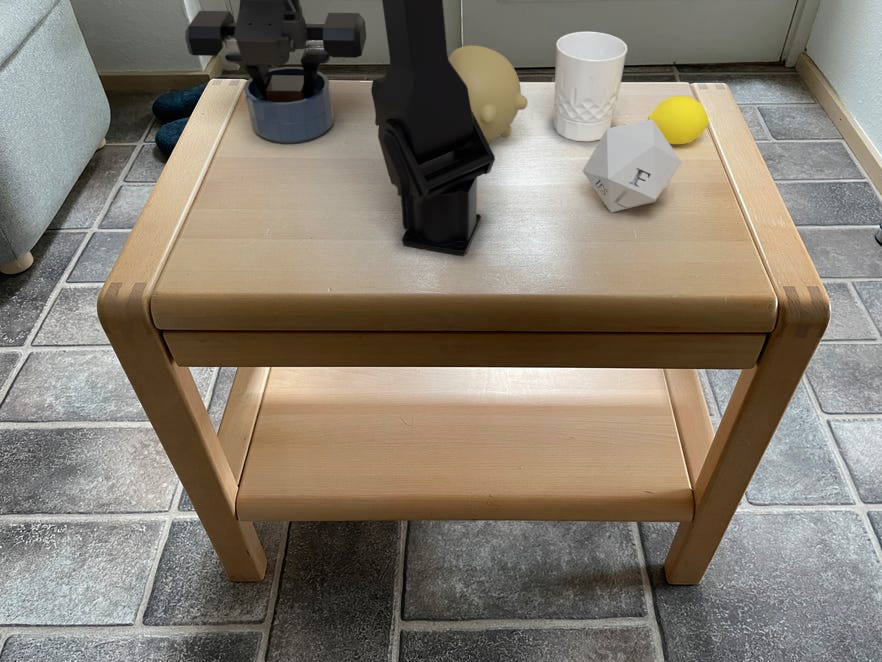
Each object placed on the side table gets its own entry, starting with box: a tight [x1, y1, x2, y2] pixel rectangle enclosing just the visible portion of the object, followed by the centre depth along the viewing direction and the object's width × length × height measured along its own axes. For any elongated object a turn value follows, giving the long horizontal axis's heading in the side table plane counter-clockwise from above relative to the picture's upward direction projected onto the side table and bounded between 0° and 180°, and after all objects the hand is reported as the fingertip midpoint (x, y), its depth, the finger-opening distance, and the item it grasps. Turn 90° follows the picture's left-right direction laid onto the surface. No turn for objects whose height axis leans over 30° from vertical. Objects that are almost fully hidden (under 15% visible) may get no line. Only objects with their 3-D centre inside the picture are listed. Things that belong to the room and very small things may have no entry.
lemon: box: [647, 95, 710, 145], centre depth 86 cm, size 7×5×5 cm
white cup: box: [553, 31, 628, 143], centre depth 86 cm, size 8×8×10 cm
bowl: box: [243, 66, 335, 144], centre depth 88 cm, size 10×10×5 cm
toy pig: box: [448, 45, 529, 143], centre depth 85 cm, size 10×12×11 cm
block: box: [266, 75, 305, 103], centre depth 87 cm, size 4×4×4 cm
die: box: [582, 119, 683, 213], centre depth 76 cm, size 8×9×10 cm
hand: (290, 107), depth 88 cm, fingers closed on block, 4 cm apart
